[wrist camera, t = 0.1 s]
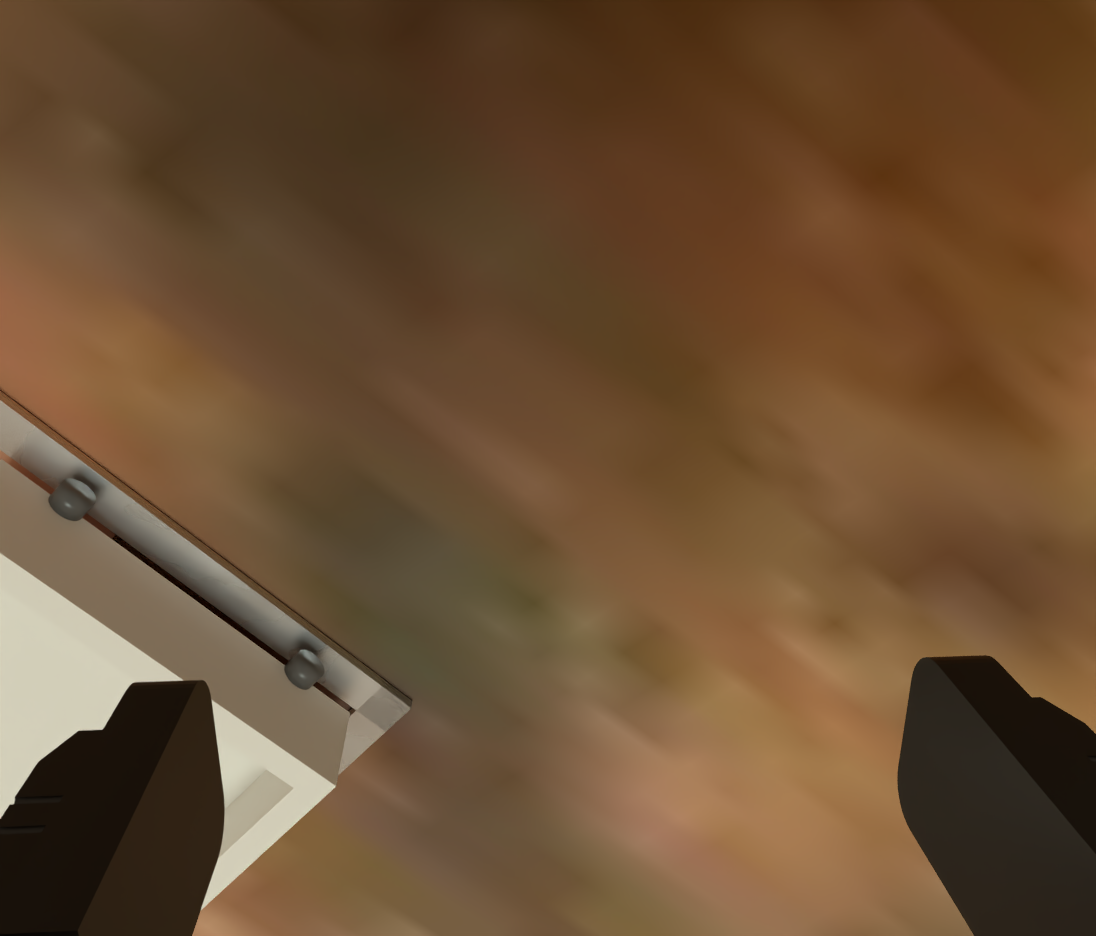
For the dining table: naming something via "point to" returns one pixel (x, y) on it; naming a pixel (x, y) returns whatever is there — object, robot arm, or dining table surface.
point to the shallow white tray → (147, 668)
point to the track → (201, 572)
